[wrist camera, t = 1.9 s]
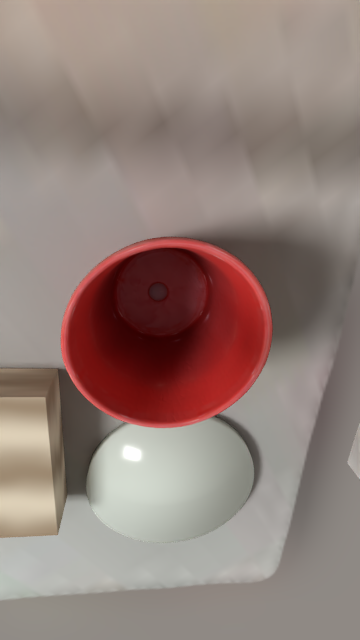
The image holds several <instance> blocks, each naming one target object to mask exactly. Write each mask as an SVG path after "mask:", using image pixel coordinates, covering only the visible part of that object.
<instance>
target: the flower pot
mask: <svg viewBox="0 0 360 640" xmlns="http://www.w3.org/2000/svg"><path fill="white" fill-rule="evenodd" d="M272 332H273V326H272V316H271V309H270V305H269V302H268V299H267V296H266V294H265V292H264V289H263V288H262V286H261V284H260V282H259V281H258V279H257V278H256V276H255V275H254V274H253V273H252V271H251V270H250V269H249V268H248V267H247V266H246V265H245V264H244V263H243V262H242V261H240V260H239V259H238V258H237V257H235V256H234V255H232V254H231V253H229V252H228V251H226V250H224V249H222V248H220V247H218V246H215V245H213V244H210V243H207V242H204V241H200V240H196V239H191V238H183V237H160V238H152V239H147V240H144V241H140V242H137V243H134V244H132V245H129V246H127V247H125V248H123V249H121V250H119V251H117V252H115V253H113V254H112V255H110V256H109V257H107V258H106V259H104V260H103V261H102V262H100V263H99V264H98V265H97V266H96V267H94V268H93V269H92V270H91V271H90V272H89V273H88V274H87V275H86V276H85V278H84V279H83V280H82V281H81V282H80V284H79V285H78V287H77V288H76V290H75V291H74V293H73V295H72V296H71V299H70V301H69V303H68V305H67V308H66V311H65V314H64V318H63V322H62V329H61V351H62V357H63V361H64V364H65V367H66V370H67V372H68V374H69V376H70V378H71V379H72V381H73V383H74V384H75V386H76V387H77V389H78V390H79V391H80V392H81V393H82V395H83V396H84V397H85V398H86V399H87V400H89V401H90V402H91V403H92V404H93V405H94V406H96V407H97V408H99V409H100V410H102V411H103V412H105V413H106V414H108V415H110V416H112V417H114V418H116V419H119V420H121V421H124V422H127V423H130V424H134V425H139V426H144V427H152V428H174V427H182V426H187V425H192V424H195V423H198V422H201V421H204V420H206V419H209V418H211V417H213V416H215V415H217V414H219V413H220V412H222V411H224V410H225V409H227V408H228V407H230V406H231V405H232V404H234V403H235V402H236V401H238V400H239V399H240V398H241V397H242V396H243V395H244V394H245V393H246V392H247V391H248V390H249V389H250V387H251V386H252V385H253V384H254V382H255V381H256V379H257V378H258V376H259V374H260V373H261V371H262V369H263V367H264V365H265V363H266V360H267V358H268V355H269V351H270V347H271V341H272Z"/></svg>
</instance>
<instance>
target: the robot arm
mask: <svg viewBox="0 0 360 640" xmlns="http://www.w3.org/2000/svg"><path fill="white" fill-rule="evenodd" d="M347 463H348V464H349V465H350V467H351V468H352V469H353V471H354V472H355V474H356V475H357V476H358V478H359V479H360V423H359V426H358V429H357V433H356V436H355V439H354V442H353V446H352V449H351V452H350V455H349V459H348V462H347Z"/></svg>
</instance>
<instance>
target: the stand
mask: <svg viewBox="0 0 360 640" xmlns="http://www.w3.org/2000/svg"><path fill="white" fill-rule="evenodd" d="M66 498H67V487H66V473H65V459H64V445H63V431H62V417H61V403H60V389H59V375H58V369H30V368H0V538H5V537H26V536H46V535H58V532H59V528H60V523H61V519H62V515H63V511H64V507H65V502H66Z"/></svg>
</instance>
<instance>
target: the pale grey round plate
mask: <svg viewBox="0 0 360 640" xmlns="http://www.w3.org/2000/svg"><path fill="white" fill-rule="evenodd" d="M253 482H254V465H253V461H252V457H251V455H250V452H249V450H248V447H247V445H246V443H245V441H244V440H243V438H242V437H241V435H240V434H239V433H238V432H237V431H236V430H235V429H234V428H233V427H232V426H230V425H229V424H228V423H226V422H225V421H223V420H221V419H220V418H217V417H215V416H213V417H211V418H209V419H206V420H204V421H201V422H198V423H195V424H192V425H187V426H182V427H174V428H152V427H144V426H139V425H134V424H130V423H127V422H125V423H123V424H121V425H120V426H119V427H117V428H116V429H114V430H113V431H112V432H111V433H110V434H109V435H107V436H106V437H105V438H104V440H103V441H102V442H101V443H100V444H99V446H98V447H97V449H96V451H95V452H94V454H93V456H92V459H91V461H90V465H89V469H88V474H87V480H86V491H87V497H88V500H89V503H90V506H91V507H92V509H93V511H94V513H95V514H96V515H97V517H98V518H99V519H100V520H101V521H102V522H103V523H104V524H105V525H106V526H108V527H109V528H111V529H112V530H114V531H115V532H117V533H119V534H121V535H123V536H126V537H128V538H131V539H135V540H138V541H144V542H151V543H172V542H180V541H185V540H190V539H193V538H197V537H199V536H202V535H205V534H207V533H209V532H211V531H213V530H215V529H217V528H218V527H220V526H222V525H223V524H225V523H226V522H227V521H229V520H230V519H231V518H232V517H233V516H234V515H235V514H236V513H237V512H238V511H239V510H240V509H241V507H242V506H243V505H244V503H245V502H246V500H247V499H248V496H249V494H250V492H251V489H252V486H253Z"/></svg>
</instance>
